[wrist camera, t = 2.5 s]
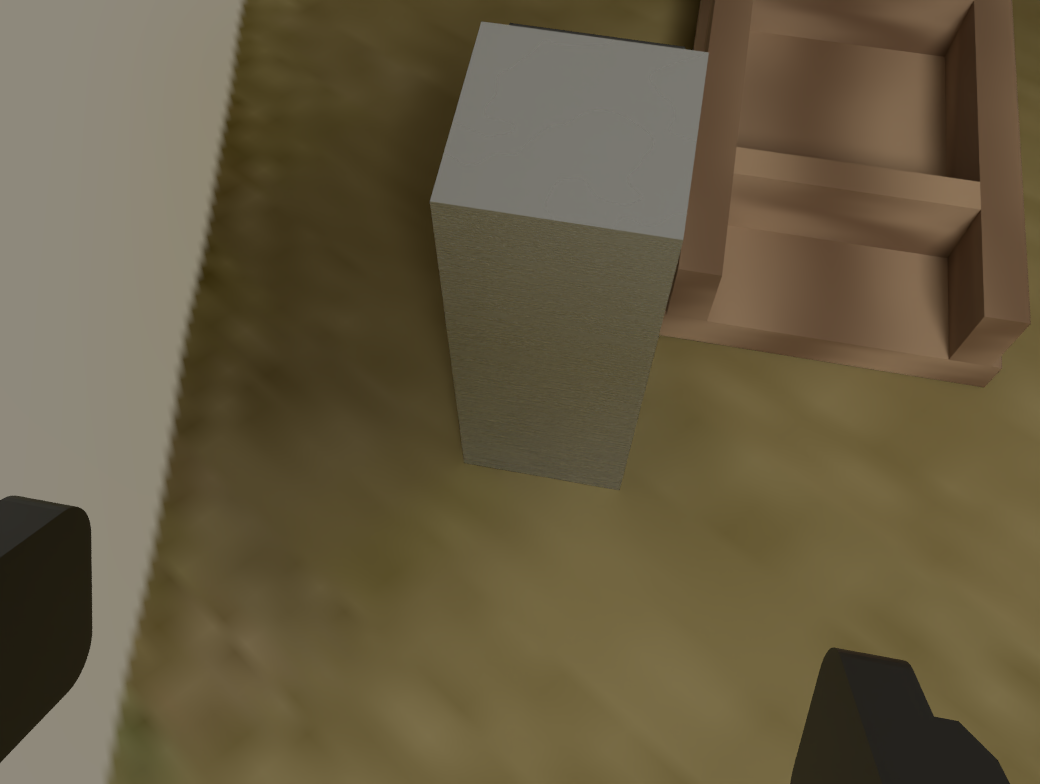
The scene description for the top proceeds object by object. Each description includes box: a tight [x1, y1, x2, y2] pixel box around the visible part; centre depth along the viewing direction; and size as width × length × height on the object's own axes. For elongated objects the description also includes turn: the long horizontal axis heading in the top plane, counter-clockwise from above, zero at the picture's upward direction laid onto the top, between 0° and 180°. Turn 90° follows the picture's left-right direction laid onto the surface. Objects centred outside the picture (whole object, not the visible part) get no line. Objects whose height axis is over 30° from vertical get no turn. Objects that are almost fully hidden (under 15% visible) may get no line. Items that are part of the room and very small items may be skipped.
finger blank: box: [430, 21, 709, 490], centre depth 23 cm, size 4×5×12 cm
